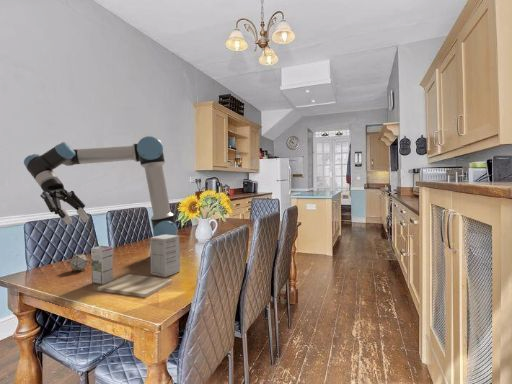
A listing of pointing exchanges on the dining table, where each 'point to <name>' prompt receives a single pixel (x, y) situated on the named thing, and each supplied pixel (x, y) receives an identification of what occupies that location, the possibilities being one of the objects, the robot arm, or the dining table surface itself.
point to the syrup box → (102, 264)
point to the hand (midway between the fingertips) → (78, 221)
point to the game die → (78, 262)
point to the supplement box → (165, 255)
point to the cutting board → (135, 285)
